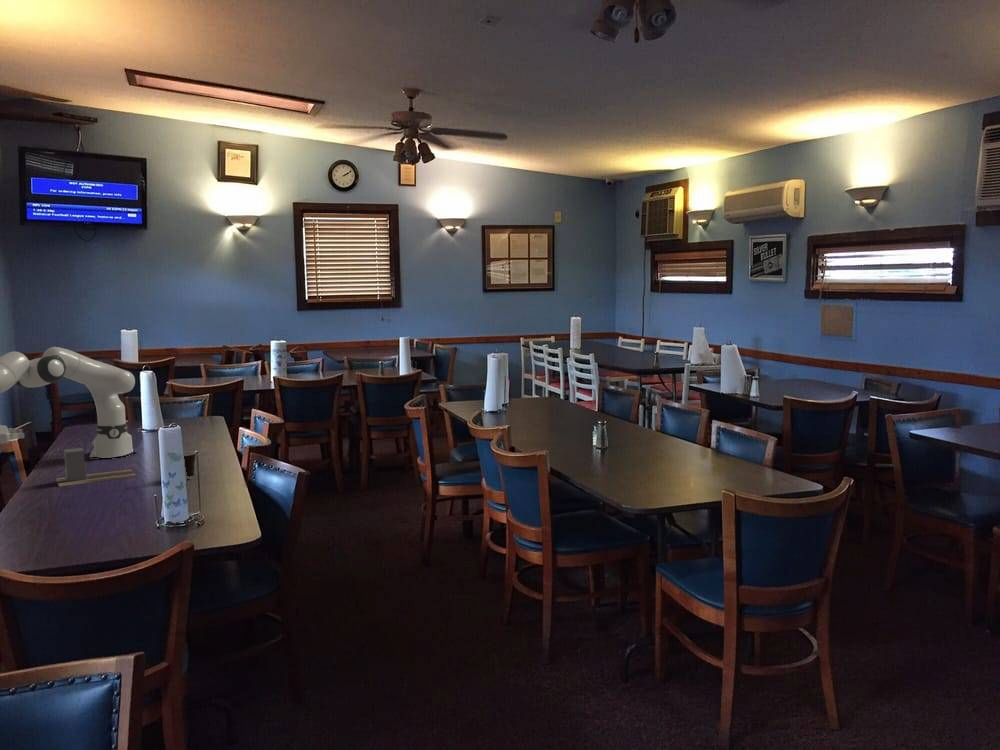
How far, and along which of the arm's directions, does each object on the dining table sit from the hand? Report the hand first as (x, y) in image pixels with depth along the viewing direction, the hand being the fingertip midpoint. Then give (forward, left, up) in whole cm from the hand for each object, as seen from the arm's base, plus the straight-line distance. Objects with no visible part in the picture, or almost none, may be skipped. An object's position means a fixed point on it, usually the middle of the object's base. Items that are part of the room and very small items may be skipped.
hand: (23, 433), depth 276 cm
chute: (-1, +23, -22) cm, 31 cm away
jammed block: (-1, +16, -20) cm, 26 cm away
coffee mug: (+11, +53, -22) cm, 58 cm away
